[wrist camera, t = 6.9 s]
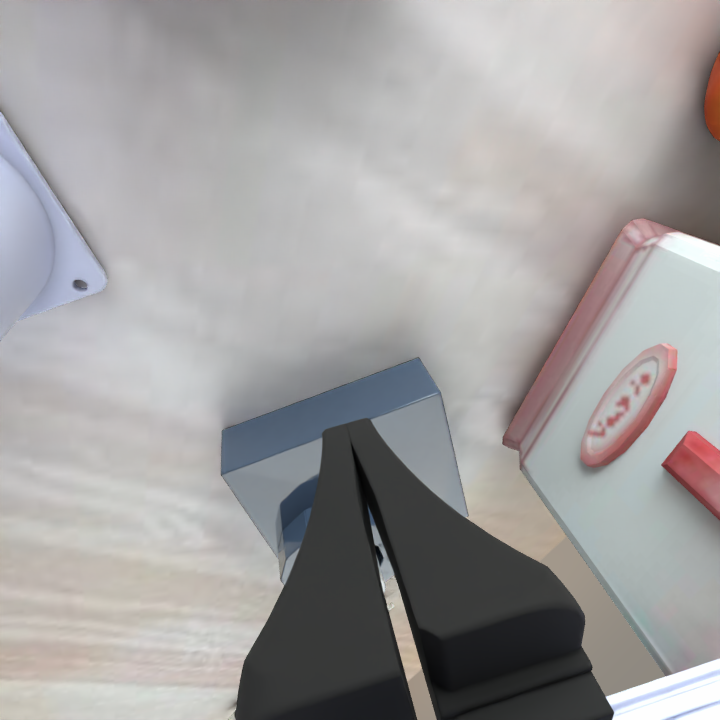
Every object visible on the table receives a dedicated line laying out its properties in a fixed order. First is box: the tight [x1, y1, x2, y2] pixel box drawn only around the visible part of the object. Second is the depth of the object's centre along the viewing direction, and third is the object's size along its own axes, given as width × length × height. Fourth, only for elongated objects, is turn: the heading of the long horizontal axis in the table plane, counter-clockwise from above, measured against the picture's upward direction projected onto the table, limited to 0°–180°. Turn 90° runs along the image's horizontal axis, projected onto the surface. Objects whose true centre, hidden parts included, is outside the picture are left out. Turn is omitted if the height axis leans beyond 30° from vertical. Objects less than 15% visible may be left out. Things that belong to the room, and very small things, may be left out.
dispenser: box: [221, 358, 468, 586], centre depth 26 cm, size 11×11×5 cm
